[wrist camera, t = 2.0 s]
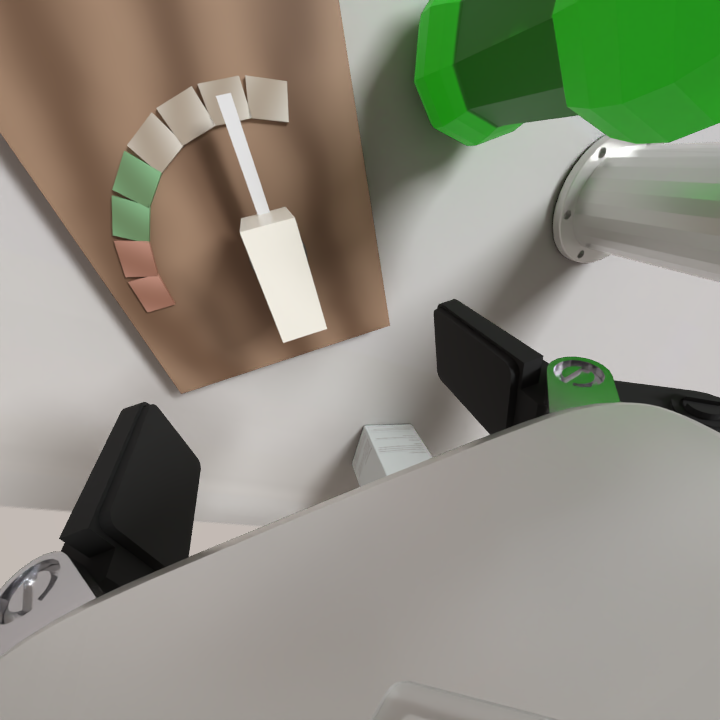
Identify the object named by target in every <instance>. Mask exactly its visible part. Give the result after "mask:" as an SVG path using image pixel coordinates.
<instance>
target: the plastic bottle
mask: <svg viewBox="0 0 720 720" xmlns="http://www.w3.org/2000/svg"><path fill="white" fill-rule="evenodd" d="M414 83H415V86H416V88H417V91H418V93H419V96H420V98H421V101H422V103H423V106H424V108H425V111H426V113H427V116H428V118H429V121H430V123H431V125H432V126H433V127H434V128H435V129H437V130H438V131H440V132H442V133H444V134H446V135H448V136H450V137H451V138H453V139H455V140H457V141H459V142H461V143H463V144H465V145H466V146H472V145H478V144H481V143H483V142H486V141H489V140H491V139H494V138H497V137H499V136H502V135H505V134H507V133H510V132H513V131H514V130H516V129H517V128H518V127H519V126H521V125H522V124H523V123H525V122H533V121H540V120H547V119H554V118H562V117H569V116H576V115H579V116H581V117H582V118H583V119H585V120H586V121H588V122H589V123H590V124H592V125H593V126H595V127H596V128H597V129H599V130H600V131H601V132H603V133H604V134H606V135H607V136H608V137H610V138H613V139H617V140H622V141H626V142H630V143H634V144H647V143H669V142H672V141H674V140H677V139H679V138H682V137H685V136H687V135H690V134H692V133H695V132H697V131H700V130H702V129H705V128H708V127H710V126H713V125H715V124H718V123H720V0H429V2H428V3H427V5H426V7H425V9H424V10H423V12H422V14H421V17H420V22H419V28H418V40H417V52H416V64H415V75H414Z"/></svg>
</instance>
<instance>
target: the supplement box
mask: <svg viewBox="0 0 720 720" xmlns="http://www.w3.org/2000/svg"><path fill="white" fill-rule="evenodd" d="M430 458H433V457H432V455H431V454H430V452H429V451H428V449H427V448H426V446H425V444H424V443H423V441H422V440H421V438H420V437H419V435H418V434H417V432H416V430H415V429H414V427H413V426H412V424H403V425H365V426H364V428H363V431H362V434H361V437H360V440H359V443H358V446H357V449H356V452H355V455H354V458H353V462H352V466H353V469H354V472H355V475H356V477H357V480H358V483H359V486H360V487H361V486H363V485H366V484H368V483H371V482H373V481H376V480H378V479H381V478H383V477H386V476H388V475H390V474H393V473H395V472H398V471H400V470H403V469H405V468H408V467H410V466H413V465H415V464H418V463H420V462H423V461H425V460H428V459H430Z"/></svg>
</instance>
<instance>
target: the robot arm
mask: <svg viewBox="0 0 720 720" xmlns="http://www.w3.org/2000/svg"><path fill="white" fill-rule="evenodd" d="M553 234H554V241H555V243H556V246H557V248H558V250H559V251H560V252H561V254H562V255H563V256H565V257H566V258H568V259H570V260H573V261H576V262H581V263H590V262H595V261H598V260H601V259H603V258H605V257H607V256H609V255H615V256H619V257H623V258H627V259H631V260H635V261H638V262H642V263H646V264H650V265H654V266H658V267H662V268H666V269H670V270H673V271H677V272H681V273H685V274H689V275H693V276H697V277H701V278H705V279H709V280H712V281H716V282H720V142H704V143H679V144H664V143H647V144H634V143H630V142H626V141H622V140H617V139H613V138H610V137H608V136H607V135H604V136H603V137H602V138H600V139H599V140H598V141H596V142H595V143H594V144H593V145H592V146H591V147H590V148H589V149H588V150H587V151H586V152H585V153H584V154H583V155H582V157H581V158H580V159H579V161H578V162H577V163H576V164H575V166H574V167H573V169H572V171H571V172H570V174H569V175H568V177H567V179H566V181H565V183H564V185H563V187H562V189H561V192H560V194H559V197H558V200H557V203H556V207H555V212H554V218H553ZM434 327H435V342H436V358H437V371H438V375H439V377H440V379H441V381H442V382H443V383H444V384H445V385H446V386H447V387H448V388H449V389H450V391H451V392H452V393H453V394H454V395H455V396H456V397H457V398H458V399H459V401H460V402H461V403H462V404H463V405H464V406H465V407H466V408H467V409H468V411H469V412H470V413H471V414H472V415H473V416H474V417H475V418H476V419H477V420H478V422H479V423H480V424H481V425H482V426H483V427H484V428H485V429H486V430H487V432H488V433H489V434H490V435H488V436H486V437H483V438H481V439H478V440H475V441H473V442H470V443H468V444H465V445H463V446H460V447H458V448H455V449H453V450H450V451H448V452H445V453H443V454H440V455H438V456H435V457H433V458H430V459H428V460H425V461H423V462H420V463H418V464H415V465H413V466H410V467H408V468H405V469H403V470H400V471H398V472H395V473H393V474H390V475H388V476H386V477H383V478H381V479H378V480H376V481H373V482H371V483H368V484H366V485H363V486H361V487H358V488H356V489H353V490H351V491H349V492H346V493H344V494H341V495H339V496H336V497H334V498H331V499H329V500H326V501H324V502H322V503H319V504H317V505H314V506H312V507H309V508H307V509H304V510H302V511H299V512H297V513H295V514H292V515H290V516H287V517H285V518H282V519H280V520H278V521H275V522H273V523H270V524H268V525H265V526H263V527H261V528H258V529H256V530H253V531H251V532H248V533H246V534H244V535H241V536H239V537H236V538H234V539H231V540H229V541H227V542H224V543H222V544H219V545H217V546H215V547H212V548H210V549H207V550H205V551H202V552H200V553H198V554H195V555H193V556H190V557H189V550H190V542H191V535H192V528H193V521H194V514H195V507H196V499H197V492H198V485H199V478H200V471H201V467H200V462H199V460H198V458H197V457H196V456H195V454H194V453H193V452H192V450H191V449H190V448H189V447H188V445H187V444H186V443H185V441H184V440H183V439H182V438H181V436H180V435H179V434H178V432H177V431H176V430H175V429H174V427H173V426H172V425H171V423H170V422H169V421H168V420H167V418H166V417H165V416H164V414H163V413H162V412H161V411H160V409H159V408H158V407H157V406H156V405H154V404H152V405H150V404H148V403H146V402H143V403H140V404H137V405H134V406H131V407H128V408H125V409H123V410H122V411H121V413H120V415H119V417H118V419H117V421H116V423H115V425H114V427H113V429H112V431H111V433H110V435H109V438H108V440H107V442H106V444H105V446H104V448H103V450H102V452H101V454H100V456H99V458H98V460H97V462H96V464H95V466H94V468H93V470H92V472H91V474H90V476H89V478H88V480H87V483H86V485H85V487H84V489H83V491H82V493H81V495H80V497H79V499H78V501H77V503H76V505H75V507H74V509H73V511H72V513H71V515H70V517H69V520H68V521H67V523H66V526H65V528H64V530H63V532H62V534H61V536H60V538H59V539H61V540H62V541H64V542H65V543H64V546H63V548H62V550H61V552H51V553H48V554H45V555H42V556H40V557H38V558H36V559H35V560H33V561H31V562H30V563H28V564H27V565H26V566H24V567H23V568H21V569H20V570H19V571H18V572H17V573H15V574H14V575H13V576H12V577H11V578H10V579H9V580H8V581H7V582H6V583H5V584H4V585H3V586H2V588H1V589H0V720H720V398H719V397H716V396H713V395H710V394H707V393H703V392H698V391H692V390H684V389H676V388H668V387H661V386H653V385H645V384H637V383H629V382H622V381H614V379H613V376H612V374H611V373H610V371H609V370H608V369H607V368H606V367H605V366H603V365H602V364H600V363H598V362H596V361H593V360H590V359H586V358H581V357H563V358H558V359H556V360H554V361H552V362H551V363H550V364H549V363H547V362H546V361H544V360H543V355H541V354H540V353H538V352H536V351H535V350H533V349H532V348H530V347H529V346H527V345H526V344H524V343H523V342H521V341H519V340H518V339H516V338H515V337H513V336H512V335H510V334H509V333H507V332H506V331H504V330H503V329H501V328H499V327H498V326H496V325H495V324H493V323H492V322H490V321H489V320H487V319H486V318H484V317H483V316H481V315H479V314H478V313H476V312H475V311H473V310H472V309H470V308H469V307H467V306H466V305H464V304H462V303H461V302H459V301H458V300H456V299H453V300H450V301H447V302H444V303H441V304H439V305H438V307H437V309H436V310H435V311H434Z"/></svg>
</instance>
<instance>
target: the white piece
mask: <svg viewBox="0 0 720 720" xmlns="http://www.w3.org/2000/svg"><path fill="white" fill-rule="evenodd" d="M216 98H217V101H218V104H219V107H220V109H221V112H222V115H223V118H224V121H225V124H226V126H227V129H228V132H229V135H230V138H231V141H232V143H233V146H234V149H235V152H236V155H237V158H238V160H239V163H240V166H241V169H242V172H243V175H244V177H245V180H246V183H247V186H248V189H249V192H250V194H251V197H252V200H253V203H254V206H255V209H256V211H257V214H256V215H252V216H248V217H244V218H241V224H240V235H241V237H242V240H243V242H244V245H245V247H246V250H247V252H248V255H249V257H250V260H251V262H252V265H253V267H254V270H255V272H256V275H257V278H258V280H259V283H260V285H261V288H262V290H263V293H264V295H265V298H266V300H267V303H268V305H269V308H270V310H271V313H272V316H273V318H274V321H275V323H276V326H277V328H278V331H279V333H280V336H281V338H282V341H283V343H285V342H288V341H291V340H294V339H297V338H300V337H303V336H307V335H310V334H313V333H316V332H319V331H322V330H325V329H327V327H326V323H325V320H324V316H323V313H322V309H321V306H320V302H319V299H318V296H317V292H316V289H315V285H314V282H313V278H312V275H311V272H310V268H309V265H308V261H307V258H306V254H305V251H304V247H303V244H302V241H301V237H300V234H299V230H298V227H297V223H296V220H295V217H294V216H293V215H292V214H291V212H290V211H289V210H288V209H287V208H286V207H282V208H279V209H275V210H271V211H270V210H269V207H268V204H267V201H266V198H265V195H264V192H263V189H262V186H261V183H260V180H259V177H258V174H257V171H256V168H255V165H254V162H253V159H252V156H251V153H250V150H249V147H248V144H247V141H246V138H245V135H244V132H243V129H242V126H241V123H240V120H239V116H238V113H237V110H236V107H235V104H234V101H233V98H232V95H231V93H227V94H223V95H218V96H216Z"/></svg>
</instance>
